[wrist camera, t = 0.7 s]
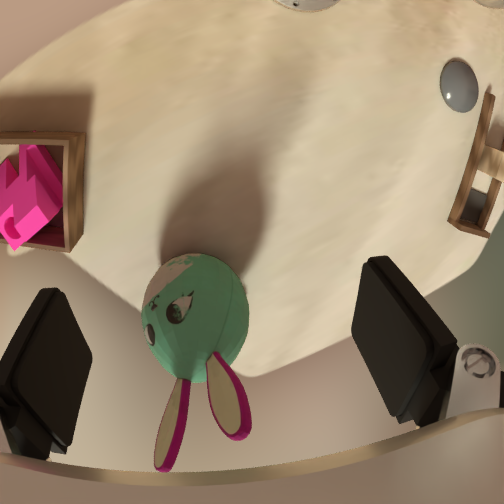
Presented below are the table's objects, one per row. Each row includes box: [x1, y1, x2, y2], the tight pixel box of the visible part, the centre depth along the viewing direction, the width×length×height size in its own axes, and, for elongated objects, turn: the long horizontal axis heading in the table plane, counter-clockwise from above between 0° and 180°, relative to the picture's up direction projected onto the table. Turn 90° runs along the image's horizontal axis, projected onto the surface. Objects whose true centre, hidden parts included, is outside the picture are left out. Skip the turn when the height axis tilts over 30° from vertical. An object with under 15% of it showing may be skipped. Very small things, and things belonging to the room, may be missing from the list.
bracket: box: [0, 131, 63, 251], centre depth 35 cm, size 12×10×10 cm
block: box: [477, 145, 504, 183], centre depth 44 cm, size 5×5×6 cm
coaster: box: [440, 61, 479, 113], centre depth 39 cm, size 9×9×1 cm
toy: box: [141, 253, 252, 472], centre depth 38 cm, size 15×17×30 cm
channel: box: [447, 93, 504, 239], centre depth 45 cm, size 26×10×4 cm, turn 168°
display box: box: [0, 131, 86, 253], centre depth 36 cm, size 15×17×6 cm
